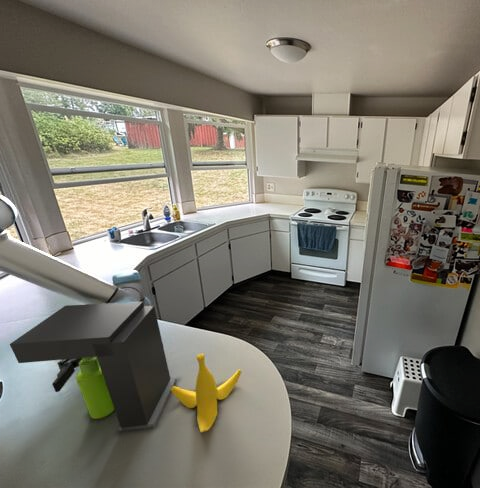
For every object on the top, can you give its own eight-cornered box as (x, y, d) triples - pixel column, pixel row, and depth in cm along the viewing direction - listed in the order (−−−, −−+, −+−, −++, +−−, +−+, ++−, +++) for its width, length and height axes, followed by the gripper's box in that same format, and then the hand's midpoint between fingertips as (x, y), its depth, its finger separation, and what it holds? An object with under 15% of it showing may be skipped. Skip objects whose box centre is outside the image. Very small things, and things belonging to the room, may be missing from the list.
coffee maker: (54, 439, 60) (9, 344, 51) (95, 388, 73) (65, 305, 64) (154, 427, 64) (129, 335, 54) (176, 380, 77) (159, 300, 67)
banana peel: (173, 394, 72) (162, 348, 67) (242, 376, 79) (237, 333, 73) (161, 455, 58) (146, 402, 52) (246, 427, 64) (241, 377, 59)
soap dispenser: (91, 403, 69) (69, 344, 62) (121, 395, 71) (103, 338, 65) (80, 423, 64) (55, 362, 57) (113, 414, 66) (93, 355, 59)
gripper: (168, 331, 87) (149, 380, 68) (80, 344, 80) (30, 404, 60) (164, 312, 85) (143, 359, 66) (73, 325, 77) (19, 381, 58)
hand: (89, 381), depth 63 cm, fingers open, 13 cm apart
